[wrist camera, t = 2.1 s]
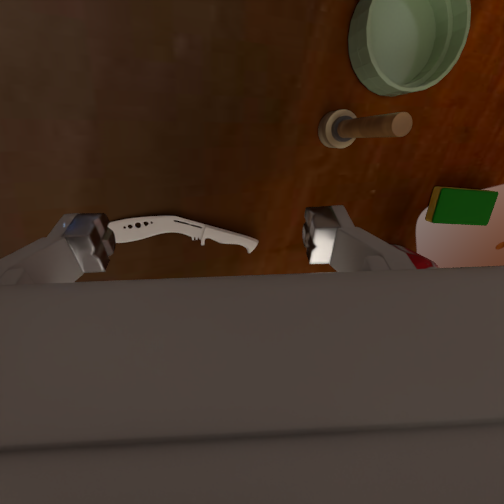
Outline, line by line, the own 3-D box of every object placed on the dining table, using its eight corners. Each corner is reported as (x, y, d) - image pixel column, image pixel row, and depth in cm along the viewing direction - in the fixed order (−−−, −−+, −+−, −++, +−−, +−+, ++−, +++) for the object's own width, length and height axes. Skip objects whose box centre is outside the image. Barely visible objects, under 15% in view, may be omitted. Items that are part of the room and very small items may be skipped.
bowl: (342, -18, 46) (363, -39, 41) (442, -33, 48) (475, -56, 43) (350, 105, 53) (369, 101, 47) (438, 86, 55) (466, 80, 49)
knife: (77, 236, 50) (84, 191, 48) (80, 234, 52) (88, 190, 50) (246, 277, 58) (260, 240, 56) (245, 274, 60) (258, 237, 57)
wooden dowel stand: (316, 114, 52) (378, 102, 35) (348, 108, 53) (424, 92, 36) (319, 150, 55) (380, 155, 37) (350, 143, 55) (423, 145, 38)
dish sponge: (477, 222, 67) (487, 225, 65) (424, 220, 64) (432, 223, 62) (488, 190, 65) (499, 192, 62) (433, 185, 62) (443, 187, 59)
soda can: (382, 238, 63) (424, 259, 52) (408, 247, 65) (454, 268, 54) (368, 269, 65) (405, 295, 54) (394, 276, 67) (435, 303, 56)
